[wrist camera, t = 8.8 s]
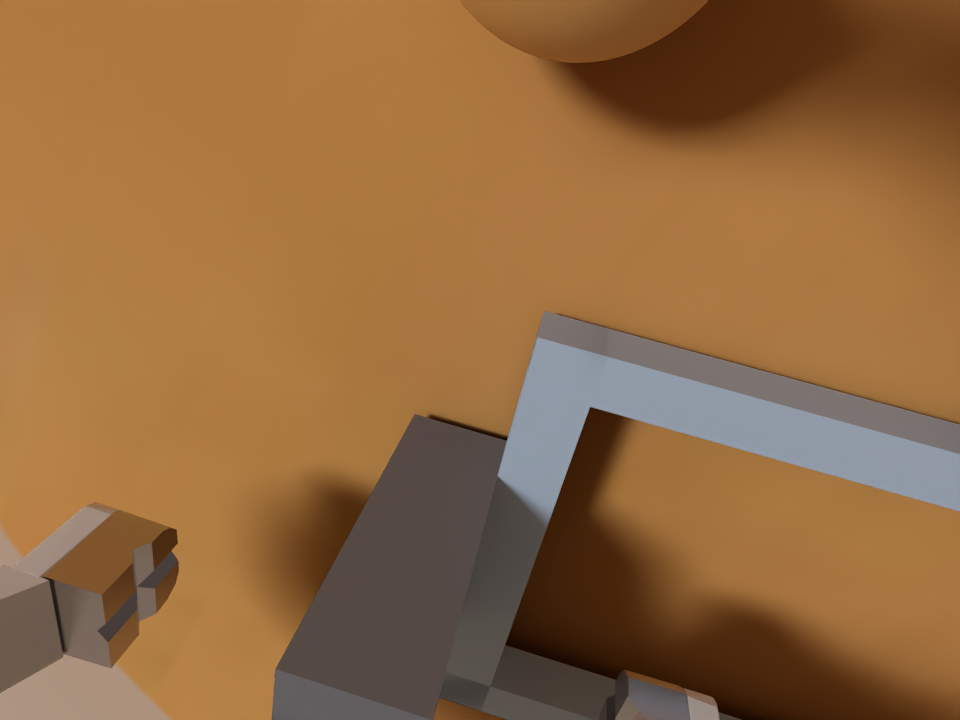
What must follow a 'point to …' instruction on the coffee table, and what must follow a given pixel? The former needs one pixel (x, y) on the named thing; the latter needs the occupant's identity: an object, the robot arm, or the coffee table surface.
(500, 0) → the figurine
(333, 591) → the sliding drawer
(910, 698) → the coffee table surface
